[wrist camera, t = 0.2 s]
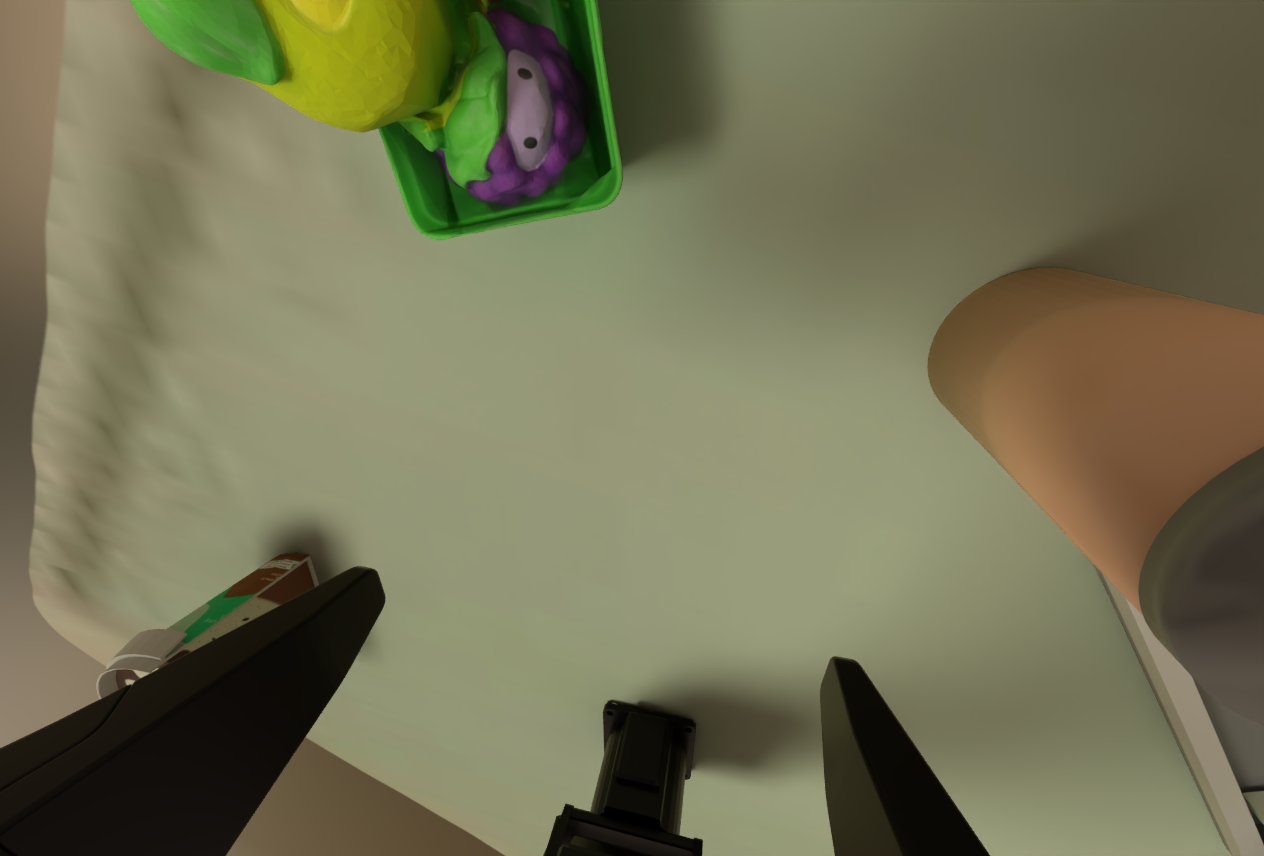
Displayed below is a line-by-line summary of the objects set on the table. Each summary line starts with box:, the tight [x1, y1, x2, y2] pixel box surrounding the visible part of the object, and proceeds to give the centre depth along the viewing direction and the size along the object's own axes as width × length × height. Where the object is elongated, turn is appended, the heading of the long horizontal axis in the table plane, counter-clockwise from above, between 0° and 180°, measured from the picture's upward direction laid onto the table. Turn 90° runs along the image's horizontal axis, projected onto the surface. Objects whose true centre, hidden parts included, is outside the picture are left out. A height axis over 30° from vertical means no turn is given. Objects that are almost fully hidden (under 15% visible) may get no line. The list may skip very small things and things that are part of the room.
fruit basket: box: [131, 0, 623, 240], centre depth 13 cm, size 11×9×11 cm
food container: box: [96, 553, 319, 699], centre depth 31 cm, size 12×6×10 cm, turn 175°
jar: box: [928, 267, 1264, 725], centre depth 13 cm, size 7×7×13 cm
